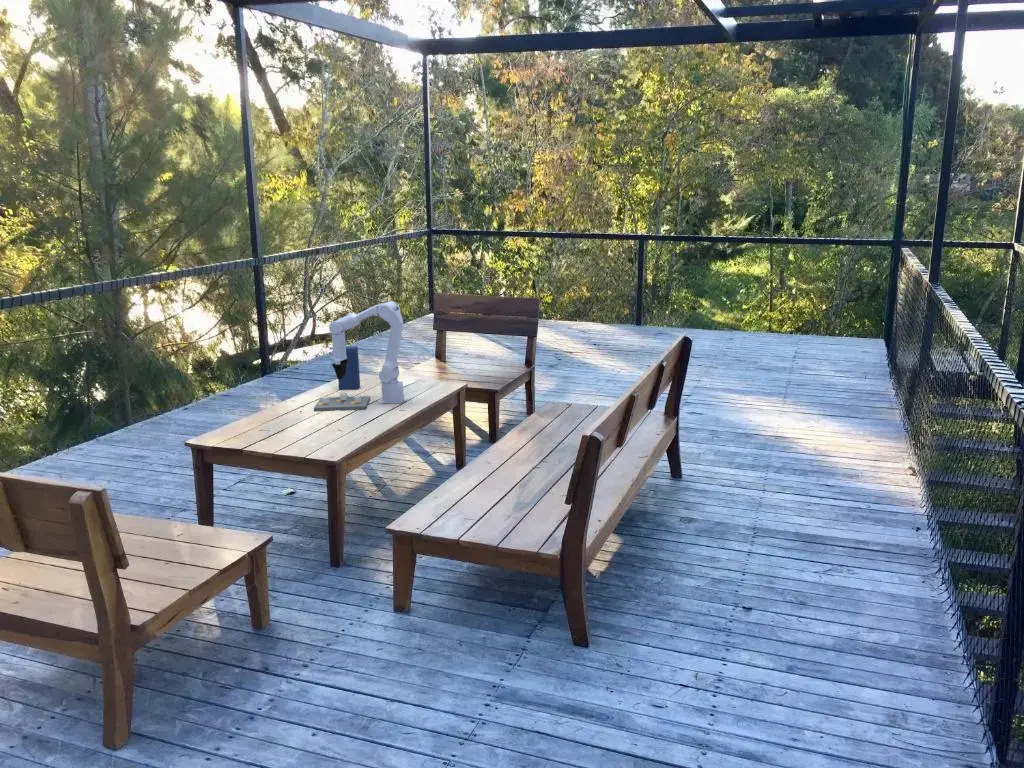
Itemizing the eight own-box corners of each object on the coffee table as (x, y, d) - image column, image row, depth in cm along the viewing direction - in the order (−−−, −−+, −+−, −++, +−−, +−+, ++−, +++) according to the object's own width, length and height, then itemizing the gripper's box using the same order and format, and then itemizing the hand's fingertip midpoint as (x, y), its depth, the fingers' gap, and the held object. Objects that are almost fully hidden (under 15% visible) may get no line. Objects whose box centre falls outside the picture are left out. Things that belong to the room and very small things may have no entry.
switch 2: (347, 398, 392) (346, 392, 391) (346, 400, 389) (345, 394, 388) (341, 398, 392) (340, 392, 391) (340, 400, 389) (339, 394, 388)
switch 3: (361, 400, 387) (361, 394, 387) (360, 402, 384) (360, 396, 384) (355, 401, 387) (355, 394, 387) (354, 402, 384) (354, 396, 384)
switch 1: (329, 401, 387) (328, 395, 386) (328, 403, 384) (327, 397, 383) (323, 402, 387) (323, 395, 386) (322, 403, 384) (321, 397, 383)
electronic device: (360, 387, 421) (358, 345, 417) (358, 389, 416) (355, 347, 412) (341, 387, 422) (338, 345, 418) (338, 389, 417) (335, 348, 413)
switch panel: (370, 399, 397) (370, 396, 397) (365, 409, 380) (365, 406, 379) (321, 401, 396) (320, 397, 396) (314, 411, 379) (313, 407, 379)
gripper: (332, 344, 399) (334, 373, 402) (327, 350, 385) (329, 381, 388) (348, 344, 399) (350, 373, 402) (343, 350, 385) (345, 380, 388)
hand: (341, 377), depth 395 cm, fingers open, 7 cm apart
